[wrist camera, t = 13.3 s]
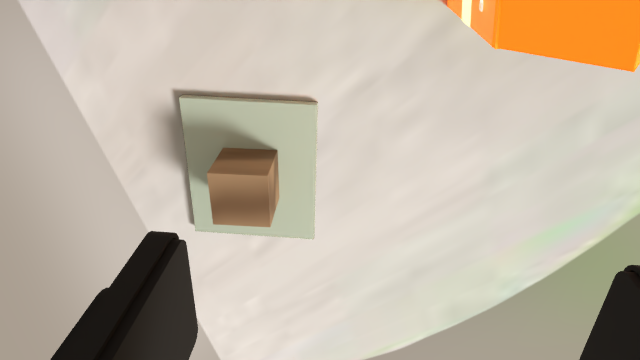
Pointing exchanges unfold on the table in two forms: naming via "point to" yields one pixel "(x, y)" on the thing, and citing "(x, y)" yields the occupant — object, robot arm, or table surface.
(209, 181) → the walnut cube
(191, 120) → the sage board
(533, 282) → the table surface
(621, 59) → the orange juice
